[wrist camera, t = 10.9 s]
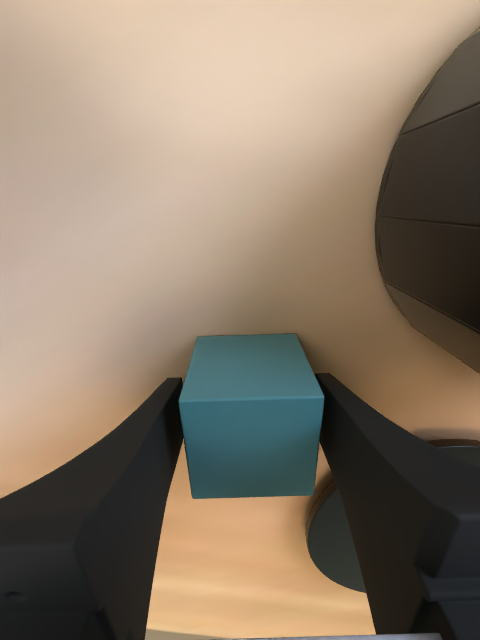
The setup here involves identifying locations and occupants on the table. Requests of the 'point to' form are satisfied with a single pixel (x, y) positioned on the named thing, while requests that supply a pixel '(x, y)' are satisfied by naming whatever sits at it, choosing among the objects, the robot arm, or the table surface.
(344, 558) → the lid
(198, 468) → the block
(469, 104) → the black round container
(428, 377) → the table surface
